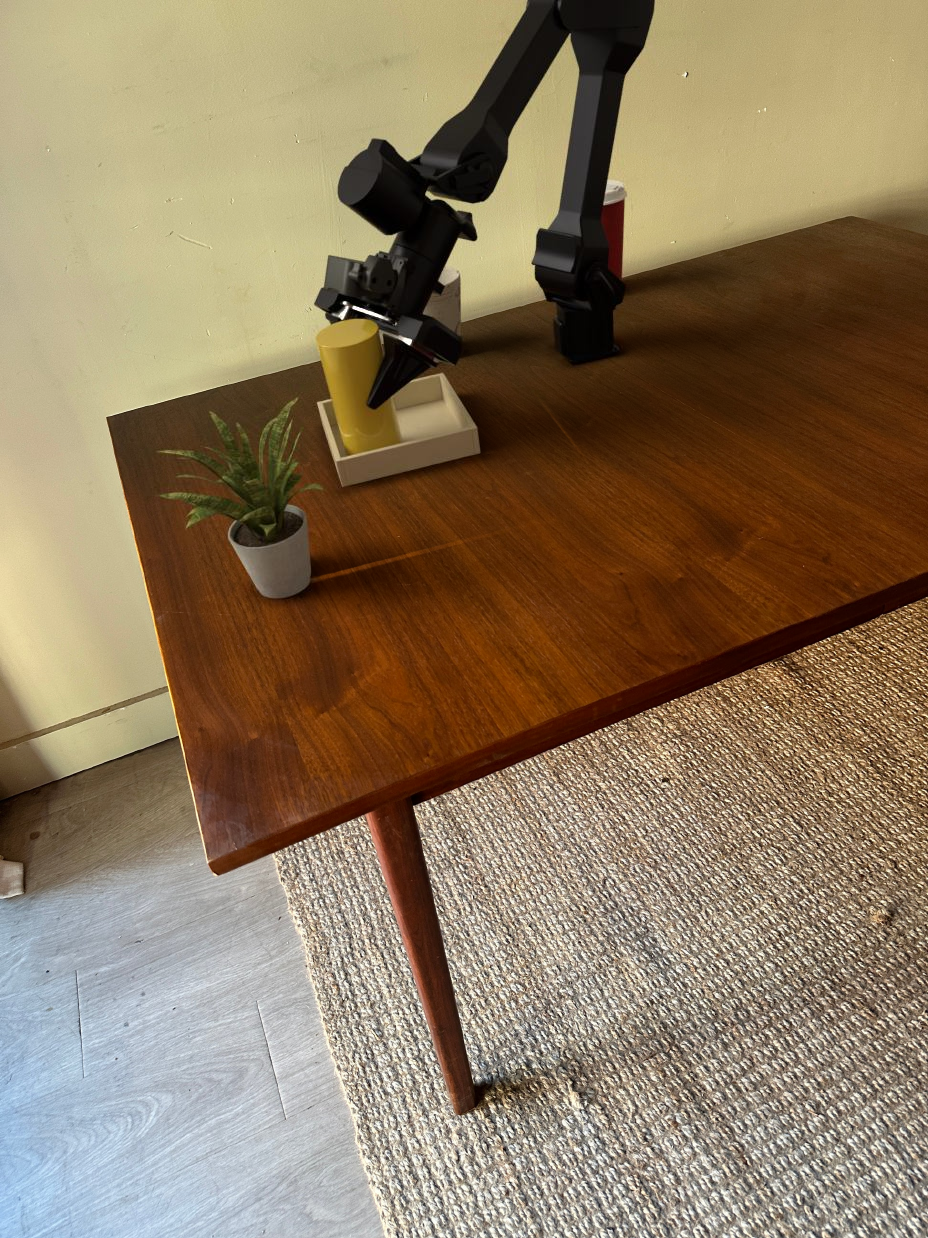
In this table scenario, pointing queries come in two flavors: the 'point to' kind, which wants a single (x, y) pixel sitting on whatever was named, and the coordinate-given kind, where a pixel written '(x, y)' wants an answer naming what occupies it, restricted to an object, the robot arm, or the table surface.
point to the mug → (445, 303)
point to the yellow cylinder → (357, 385)
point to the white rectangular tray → (409, 433)
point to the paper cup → (614, 224)
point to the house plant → (258, 508)
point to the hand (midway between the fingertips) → (351, 399)
